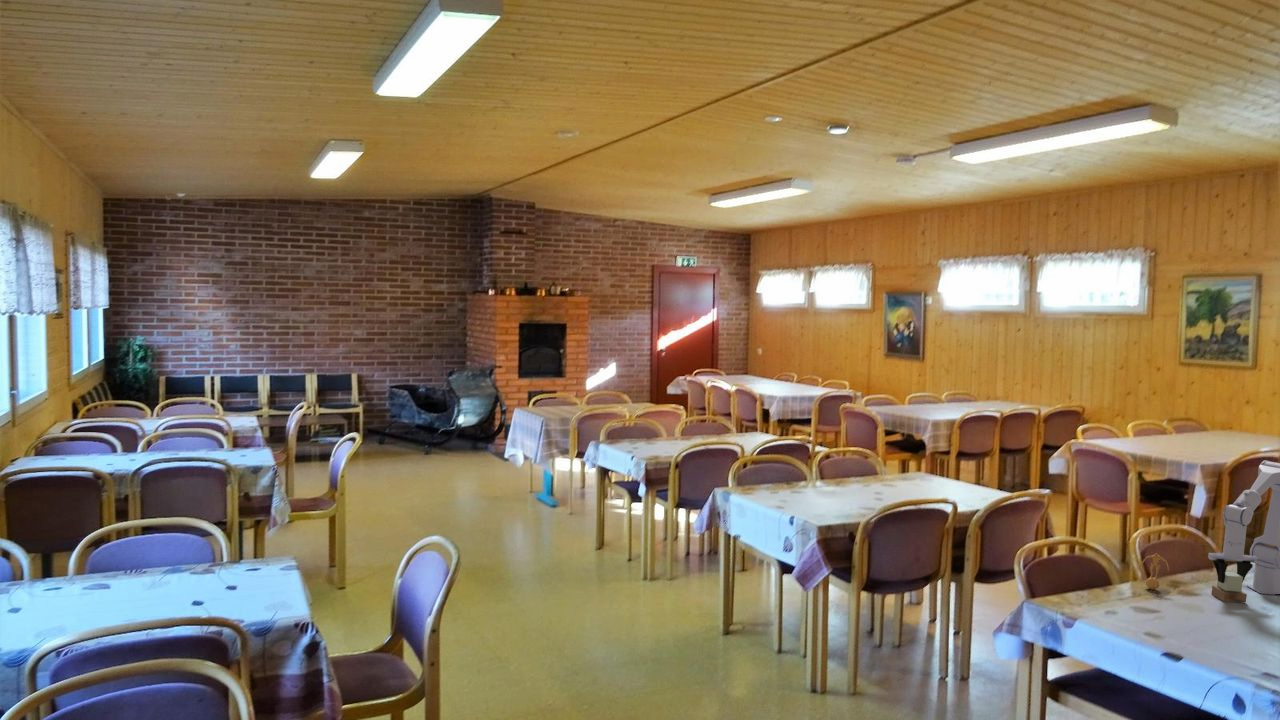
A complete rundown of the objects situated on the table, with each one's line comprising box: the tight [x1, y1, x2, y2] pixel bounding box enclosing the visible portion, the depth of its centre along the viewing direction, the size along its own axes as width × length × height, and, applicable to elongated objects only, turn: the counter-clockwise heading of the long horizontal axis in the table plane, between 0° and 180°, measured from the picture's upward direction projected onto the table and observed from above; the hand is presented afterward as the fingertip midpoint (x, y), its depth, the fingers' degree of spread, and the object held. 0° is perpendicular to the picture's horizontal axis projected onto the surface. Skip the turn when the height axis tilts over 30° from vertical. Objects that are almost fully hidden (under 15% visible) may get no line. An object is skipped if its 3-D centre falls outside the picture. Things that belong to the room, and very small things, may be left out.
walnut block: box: [1211, 585, 1248, 603], centre depth 300 cm, size 7×7×3 cm
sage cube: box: [1216, 571, 1244, 592], centre depth 300 cm, size 5×5×5 cm
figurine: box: [1140, 552, 1170, 591], centre depth 307 cm, size 8×6×12 cm
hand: (1230, 582), depth 300 cm, fingers open, 5 cm apart
